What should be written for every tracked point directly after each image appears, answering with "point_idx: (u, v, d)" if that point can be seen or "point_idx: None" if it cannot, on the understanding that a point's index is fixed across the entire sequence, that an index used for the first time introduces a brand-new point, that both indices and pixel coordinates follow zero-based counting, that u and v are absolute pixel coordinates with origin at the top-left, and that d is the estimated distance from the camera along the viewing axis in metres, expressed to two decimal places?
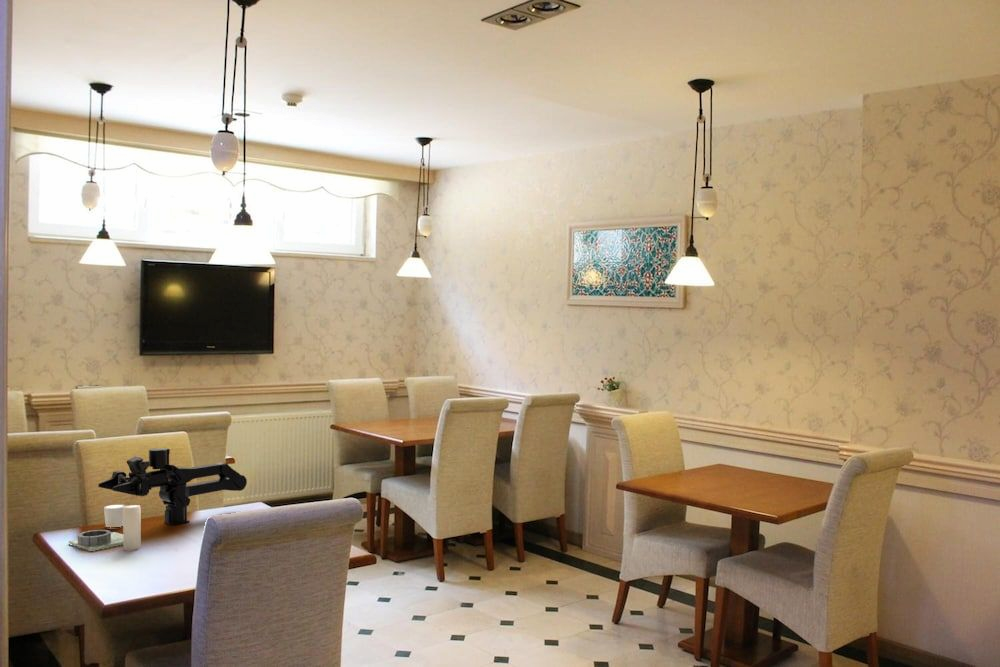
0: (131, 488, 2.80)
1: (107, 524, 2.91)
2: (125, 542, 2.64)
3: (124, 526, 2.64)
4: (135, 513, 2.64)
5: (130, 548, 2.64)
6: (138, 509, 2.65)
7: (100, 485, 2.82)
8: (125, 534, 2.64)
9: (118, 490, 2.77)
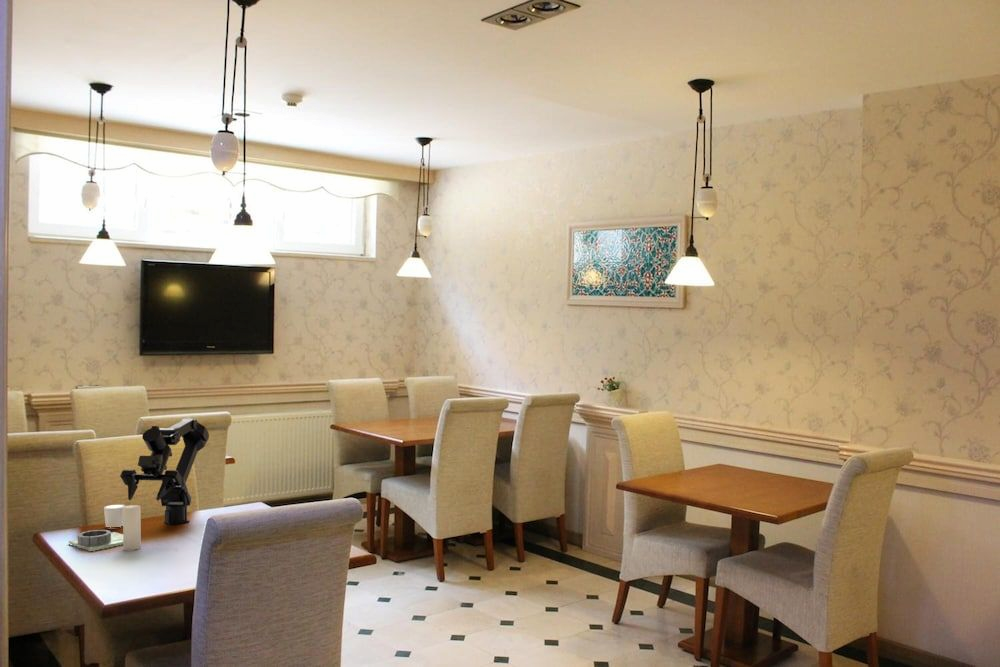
0: (166, 486, 2.78)
1: (107, 524, 2.91)
2: (125, 542, 2.64)
3: (124, 526, 2.64)
4: (135, 513, 2.64)
5: (130, 548, 2.64)
6: (138, 509, 2.65)
7: (130, 498, 2.75)
8: (125, 534, 2.64)
9: (161, 497, 2.75)
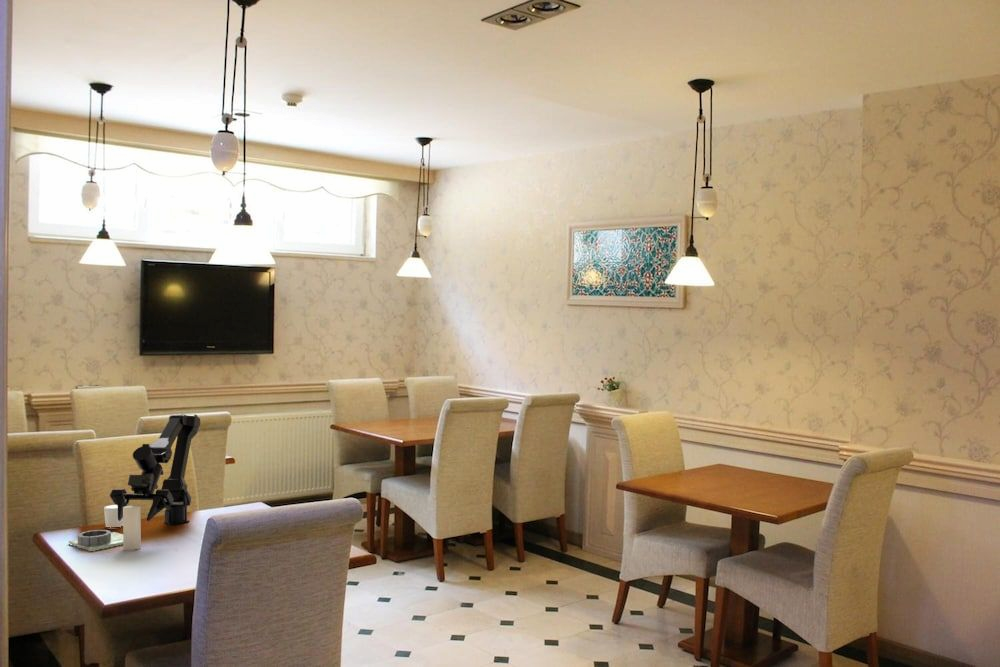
0: (157, 506, 2.71)
1: (107, 524, 2.91)
2: (125, 542, 2.64)
3: (124, 526, 2.64)
4: (135, 513, 2.64)
5: (130, 548, 2.64)
6: (138, 509, 2.65)
7: (120, 518, 2.68)
8: (125, 534, 2.64)
9: (151, 517, 2.68)
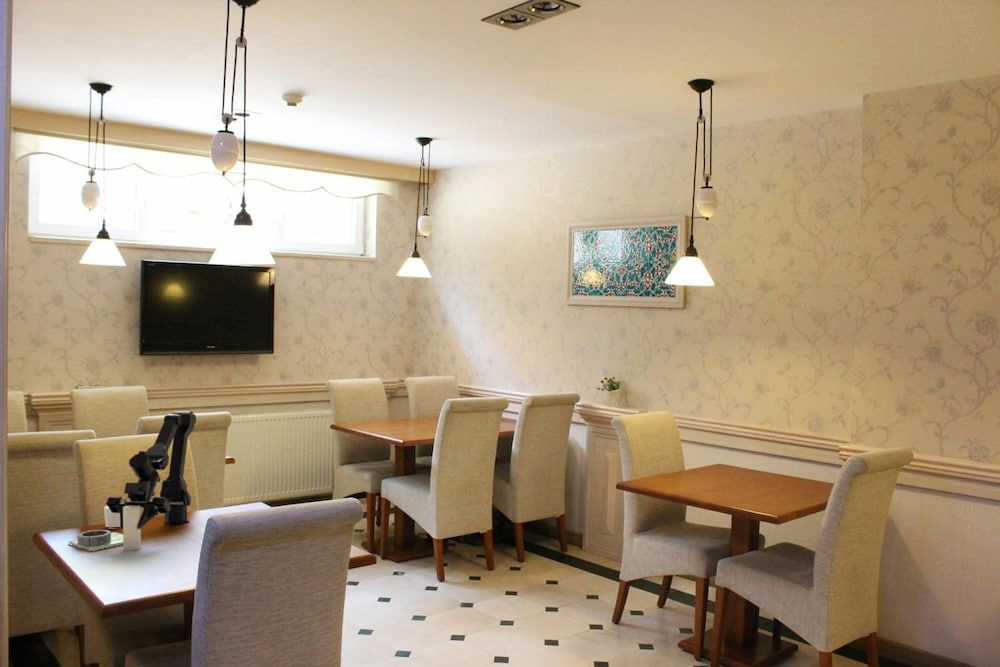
0: (148, 513, 2.69)
1: (107, 524, 2.91)
2: (125, 542, 2.64)
3: (124, 526, 2.64)
4: (135, 513, 2.64)
5: (130, 548, 2.64)
6: (138, 509, 2.65)
7: (122, 526, 2.65)
8: (125, 534, 2.64)
9: (142, 525, 2.66)
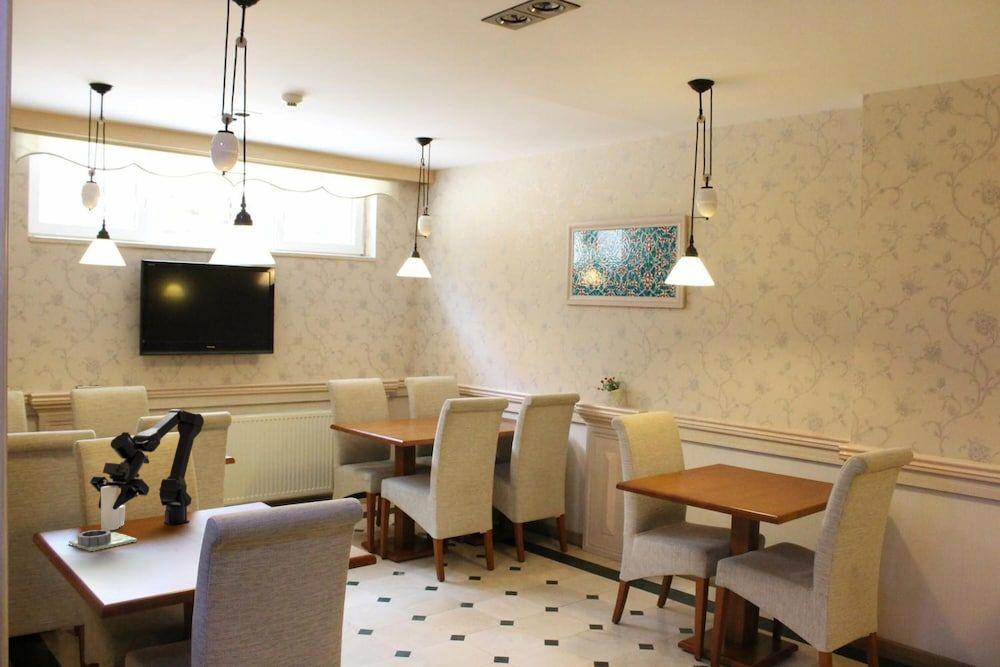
0: (126, 494, 2.69)
1: None
2: (102, 522, 2.66)
3: (101, 506, 2.66)
4: (111, 493, 2.65)
5: (106, 528, 2.65)
6: (114, 490, 2.66)
7: None
8: (102, 514, 2.66)
9: (118, 506, 2.67)
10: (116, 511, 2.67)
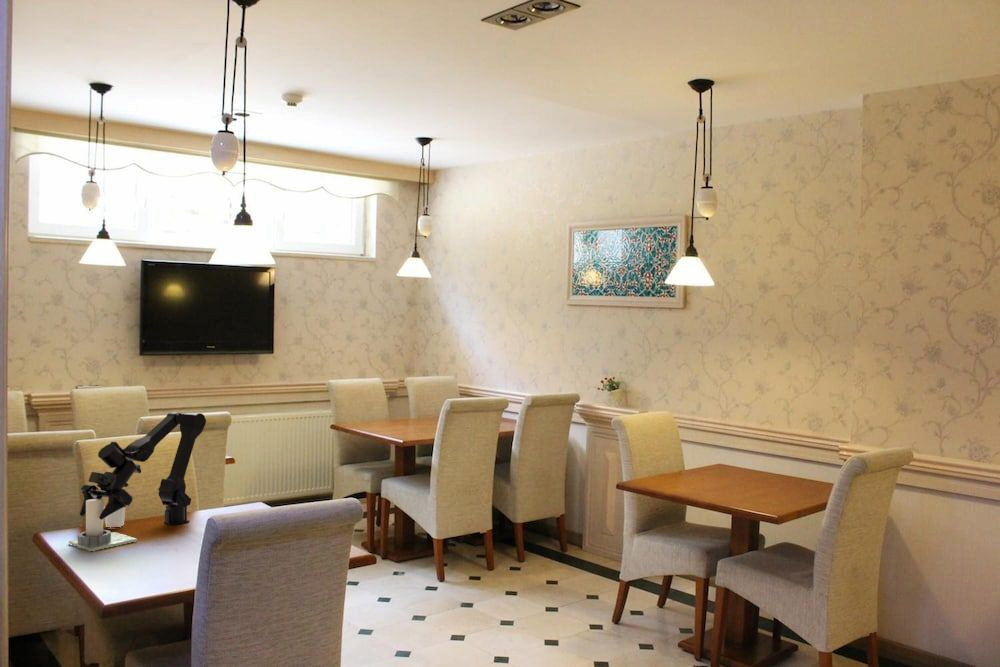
0: (114, 505, 2.70)
1: (107, 524, 2.91)
2: (86, 534, 2.69)
3: None
4: (94, 507, 2.68)
5: None
6: (98, 503, 2.69)
7: (82, 514, 2.72)
8: (86, 526, 2.69)
9: (105, 516, 2.68)
10: (99, 524, 2.69)
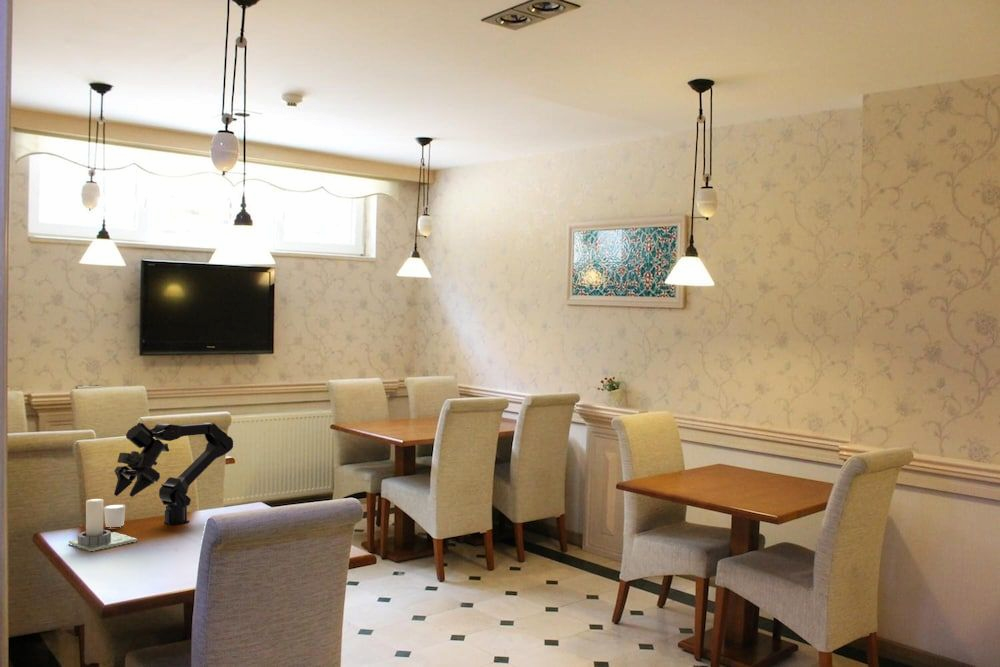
0: (143, 482, 2.81)
1: (107, 524, 2.91)
2: (86, 534, 2.69)
3: None
4: (94, 507, 2.68)
5: None
6: (98, 503, 2.69)
7: (116, 494, 2.84)
8: (86, 526, 2.69)
9: (135, 493, 2.79)
10: (99, 524, 2.69)
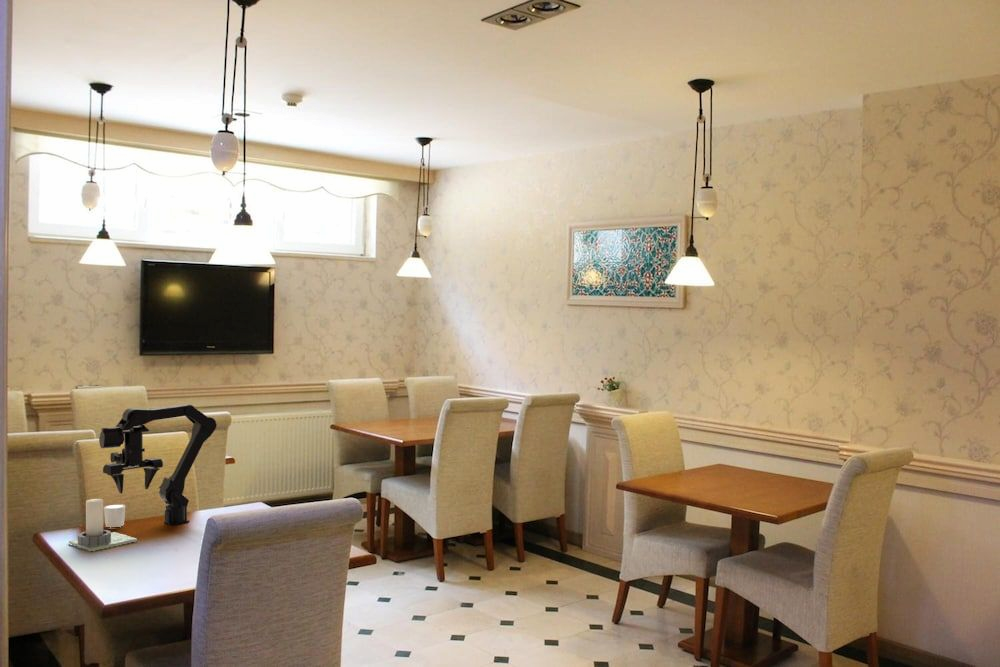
0: (118, 477, 2.85)
1: (107, 524, 2.91)
2: (86, 534, 2.69)
3: None
4: (94, 507, 2.68)
5: None
6: (98, 503, 2.68)
7: (146, 487, 2.93)
8: (86, 527, 2.69)
9: (120, 489, 2.85)
10: (100, 525, 2.69)
